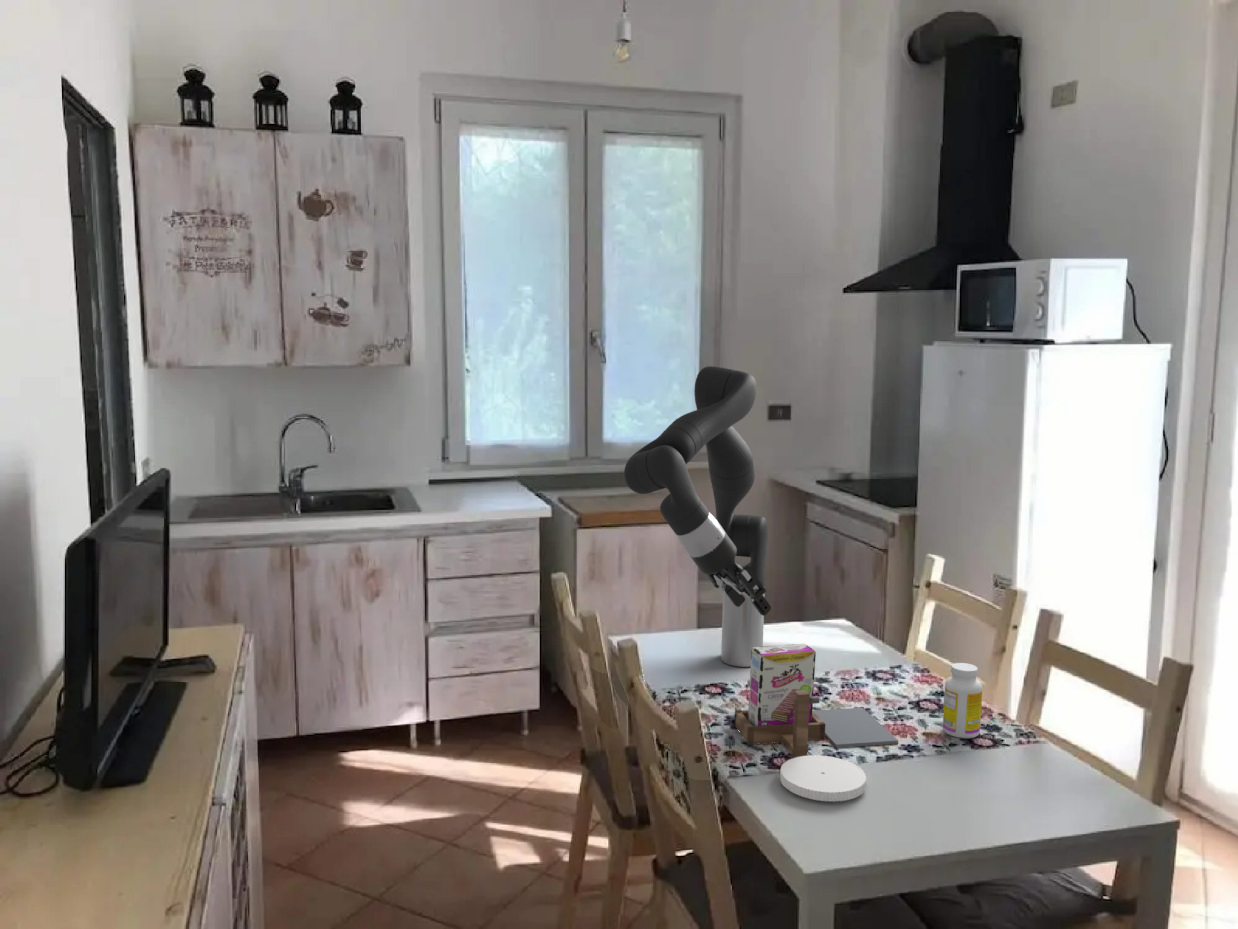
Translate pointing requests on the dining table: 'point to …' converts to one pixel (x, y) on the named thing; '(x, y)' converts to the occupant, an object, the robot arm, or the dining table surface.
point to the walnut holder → (786, 727)
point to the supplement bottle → (962, 702)
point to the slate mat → (853, 728)
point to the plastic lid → (823, 778)
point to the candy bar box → (779, 682)
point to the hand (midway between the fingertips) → (753, 607)
